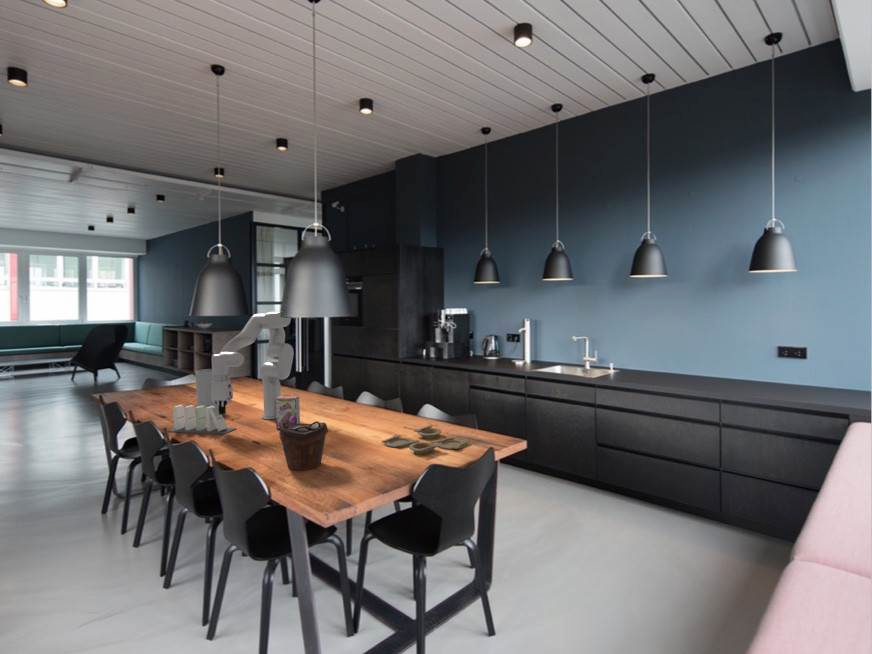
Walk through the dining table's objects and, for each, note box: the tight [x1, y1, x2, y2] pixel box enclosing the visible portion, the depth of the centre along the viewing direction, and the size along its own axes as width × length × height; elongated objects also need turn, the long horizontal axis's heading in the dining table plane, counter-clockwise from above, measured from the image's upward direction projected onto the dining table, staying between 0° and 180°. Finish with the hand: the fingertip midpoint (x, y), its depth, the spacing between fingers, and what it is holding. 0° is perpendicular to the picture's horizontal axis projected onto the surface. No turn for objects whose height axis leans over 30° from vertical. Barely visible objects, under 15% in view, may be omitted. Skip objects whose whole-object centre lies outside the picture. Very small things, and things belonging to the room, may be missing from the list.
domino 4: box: [205, 406, 217, 431], centre depth 254 cm, size 2×5×12 cm, turn 167°
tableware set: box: [381, 424, 470, 455], centre depth 224 cm, size 35×29×4 cm
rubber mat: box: [167, 426, 237, 435], centre depth 256 cm, size 33×10×1 cm, turn 77°
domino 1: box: [172, 404, 185, 430], centre depth 259 cm, size 2×5×12 cm, turn 167°
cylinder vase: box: [194, 368, 218, 414], centre depth 300 cm, size 12×12×25 cm
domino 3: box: [194, 406, 207, 431], centre depth 256 cm, size 2×5×12 cm, turn 168°
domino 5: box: [209, 407, 229, 432], centre depth 253 cm, size 2×5×12 cm, turn 166°
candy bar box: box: [275, 396, 301, 430], centre depth 256 cm, size 11×5×16 cm, turn 84°
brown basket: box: [278, 421, 330, 472], centre depth 198 cm, size 18×20×18 cm
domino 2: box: [184, 404, 196, 430], centre depth 257 cm, size 2×5×12 cm, turn 167°
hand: (222, 413), depth 253 cm, fingers closed
